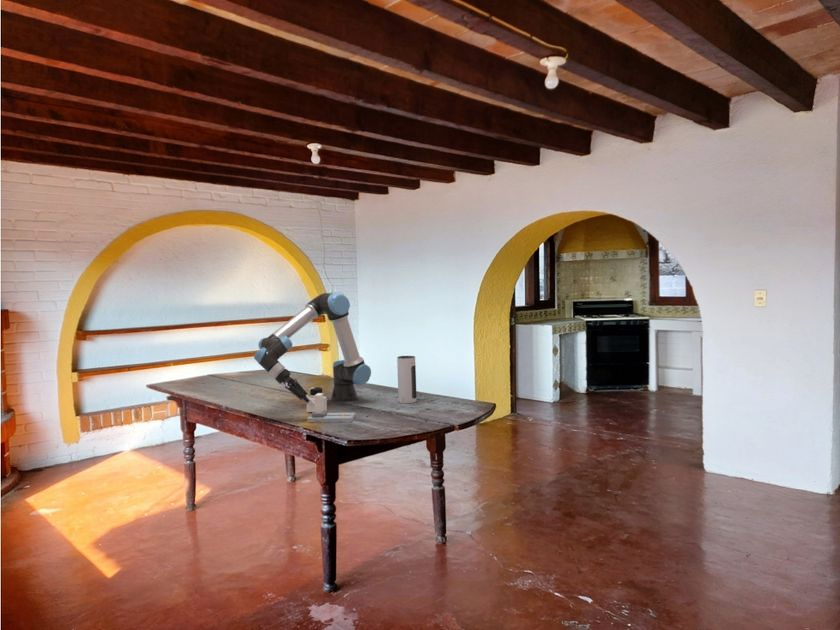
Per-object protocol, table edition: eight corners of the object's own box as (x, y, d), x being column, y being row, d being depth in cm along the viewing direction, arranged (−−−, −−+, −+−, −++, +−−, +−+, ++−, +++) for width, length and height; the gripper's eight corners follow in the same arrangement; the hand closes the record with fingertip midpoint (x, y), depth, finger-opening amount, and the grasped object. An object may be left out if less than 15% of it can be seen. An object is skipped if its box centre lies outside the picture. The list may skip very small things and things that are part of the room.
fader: (315, 413, 300) (315, 392, 300) (327, 413, 300) (326, 392, 299) (311, 416, 292) (311, 396, 292) (323, 416, 292) (322, 395, 291)
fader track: (313, 416, 302) (313, 412, 302) (355, 416, 301) (355, 412, 301) (306, 422, 291) (306, 418, 290) (350, 422, 289) (350, 418, 289)
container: (327, 411, 315) (326, 386, 314) (317, 414, 308) (316, 389, 307) (316, 409, 319) (315, 385, 318) (306, 412, 312) (305, 388, 311)
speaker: (409, 404, 325) (408, 357, 324) (394, 402, 331) (393, 356, 329) (420, 401, 334) (419, 355, 332) (405, 399, 340) (403, 354, 338)
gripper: (279, 376, 303) (312, 408, 303) (270, 380, 290) (305, 414, 290) (289, 366, 302) (322, 398, 302) (280, 370, 289) (315, 403, 289)
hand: (313, 405), depth 296 cm, fingers closed
